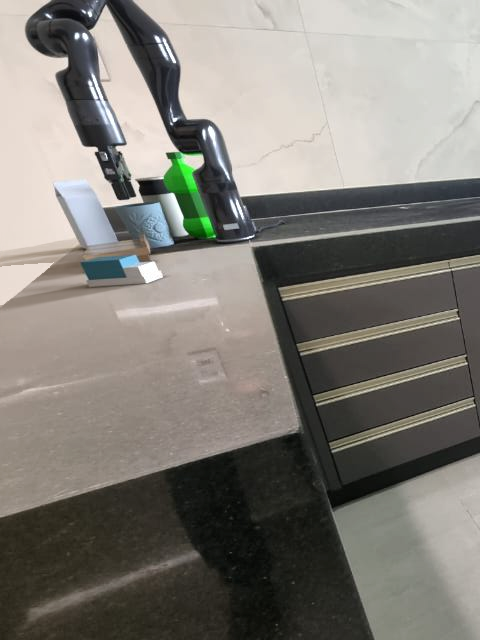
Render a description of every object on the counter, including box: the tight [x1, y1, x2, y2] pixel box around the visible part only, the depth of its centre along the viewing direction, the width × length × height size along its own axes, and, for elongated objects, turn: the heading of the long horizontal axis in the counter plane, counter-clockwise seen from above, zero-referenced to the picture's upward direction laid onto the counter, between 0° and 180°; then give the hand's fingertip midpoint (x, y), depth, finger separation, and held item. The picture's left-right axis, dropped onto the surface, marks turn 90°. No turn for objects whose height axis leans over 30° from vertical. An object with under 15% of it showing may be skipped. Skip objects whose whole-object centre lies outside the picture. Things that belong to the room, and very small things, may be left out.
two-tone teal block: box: [79, 255, 164, 288], centre depth 117 cm, size 12×5×6 cm, turn 95°
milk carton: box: [52, 179, 119, 250], centre depth 155 cm, size 7×7×19 cm
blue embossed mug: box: [114, 202, 175, 249], centre depth 154 cm, size 10×10×12 cm
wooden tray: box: [82, 232, 153, 262], centre depth 137 cm, size 18×12×6 cm, turn 41°
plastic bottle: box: [163, 151, 216, 240], centre depth 161 cm, size 10×10×25 cm
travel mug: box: [134, 175, 190, 239], centre depth 166 cm, size 8×8×18 cm
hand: (127, 198), depth 124 cm, fingers open, 8 cm apart
